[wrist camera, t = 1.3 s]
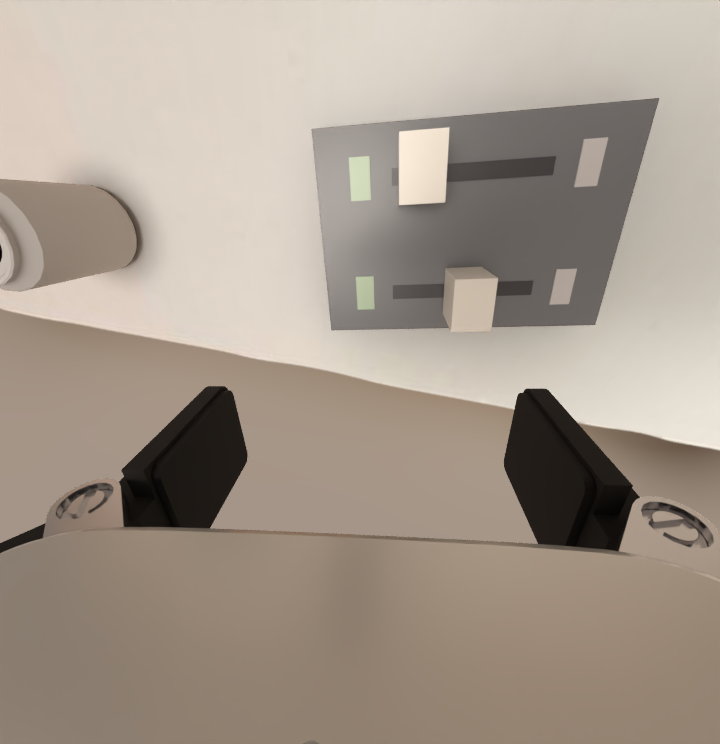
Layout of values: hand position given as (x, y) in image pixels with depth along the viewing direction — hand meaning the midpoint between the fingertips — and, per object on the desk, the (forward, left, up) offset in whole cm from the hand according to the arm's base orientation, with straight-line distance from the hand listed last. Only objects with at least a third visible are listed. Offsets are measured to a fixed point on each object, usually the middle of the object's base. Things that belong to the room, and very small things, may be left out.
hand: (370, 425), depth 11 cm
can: (+27, -6, -24) cm, 37 cm away
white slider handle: (-7, 0, -21) cm, 22 cm away
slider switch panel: (-7, -4, -23) cm, 25 cm away
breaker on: (-3, -9, -21) cm, 22 cm away
